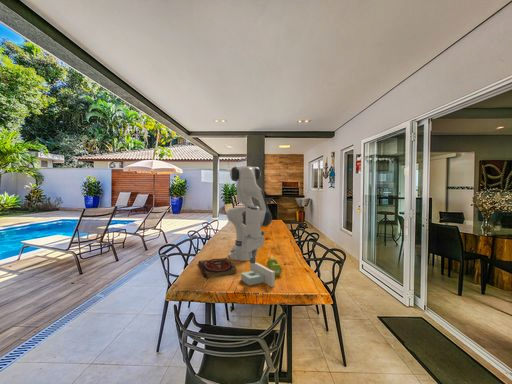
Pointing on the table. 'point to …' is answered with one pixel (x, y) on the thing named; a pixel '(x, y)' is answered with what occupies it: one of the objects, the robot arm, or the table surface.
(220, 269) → the book
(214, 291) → the table surface
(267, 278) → the wall
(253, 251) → the dowel
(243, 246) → the robot arm
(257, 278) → the sliding block
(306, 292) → the table surface
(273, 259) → the dumbbell
